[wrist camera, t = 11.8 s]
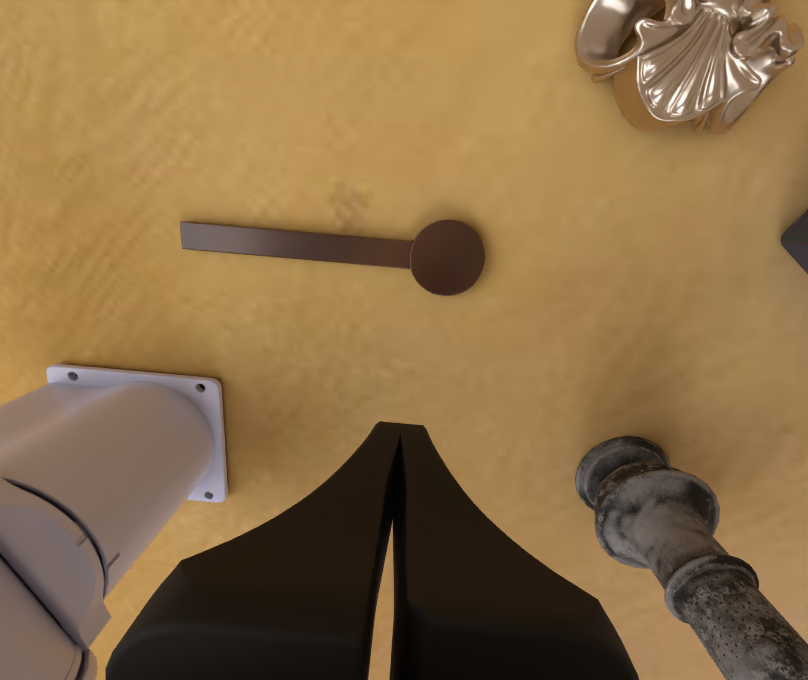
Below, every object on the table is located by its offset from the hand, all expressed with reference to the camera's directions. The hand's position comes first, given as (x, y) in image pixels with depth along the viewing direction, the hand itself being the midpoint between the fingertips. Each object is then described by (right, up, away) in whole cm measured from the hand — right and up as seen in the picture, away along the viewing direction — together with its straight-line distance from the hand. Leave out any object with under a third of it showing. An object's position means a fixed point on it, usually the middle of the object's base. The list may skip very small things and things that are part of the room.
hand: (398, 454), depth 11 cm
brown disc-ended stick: (-3, +8, +9) cm, 12 cm away
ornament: (+11, +15, +6) cm, 20 cm away
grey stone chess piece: (+13, -5, +12) cm, 18 cm away
